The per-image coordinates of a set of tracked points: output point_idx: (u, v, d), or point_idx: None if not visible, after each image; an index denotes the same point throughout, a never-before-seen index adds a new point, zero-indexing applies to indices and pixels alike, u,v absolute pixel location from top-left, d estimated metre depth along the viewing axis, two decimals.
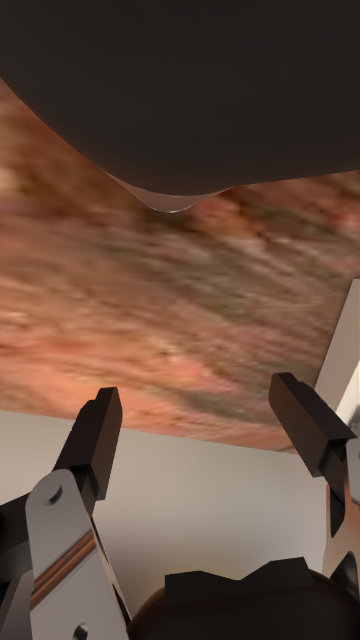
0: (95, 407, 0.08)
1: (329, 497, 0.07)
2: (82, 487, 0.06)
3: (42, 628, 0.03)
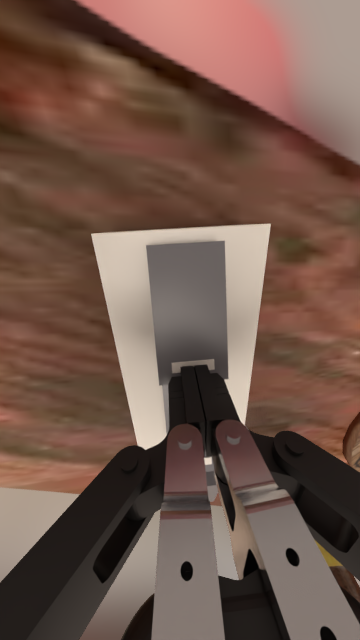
0: (185, 381, 0.10)
1: (219, 487, 0.07)
2: (202, 439, 0.07)
3: (165, 535, 0.04)
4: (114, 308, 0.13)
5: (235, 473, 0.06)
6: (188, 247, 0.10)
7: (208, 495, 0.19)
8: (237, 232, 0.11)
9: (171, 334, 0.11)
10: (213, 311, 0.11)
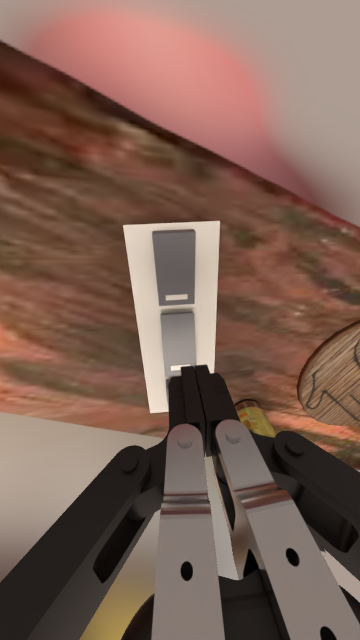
0: (185, 381, 0.10)
1: (219, 487, 0.07)
2: (202, 439, 0.07)
3: (165, 534, 0.04)
4: (133, 268, 0.22)
5: (235, 473, 0.06)
6: (175, 235, 0.18)
7: None
8: (201, 225, 0.21)
9: (165, 281, 0.21)
10: (188, 270, 0.20)
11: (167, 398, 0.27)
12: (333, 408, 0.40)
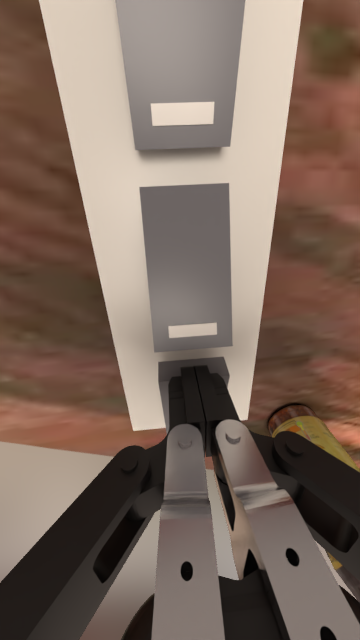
0: (185, 381, 0.10)
1: (219, 487, 0.07)
2: (202, 439, 0.07)
3: (165, 535, 0.04)
4: (57, 35, 0.08)
5: (235, 473, 0.06)
6: None
7: None
8: None
9: (148, 29, 0.06)
10: None
11: (162, 404, 0.12)
12: None
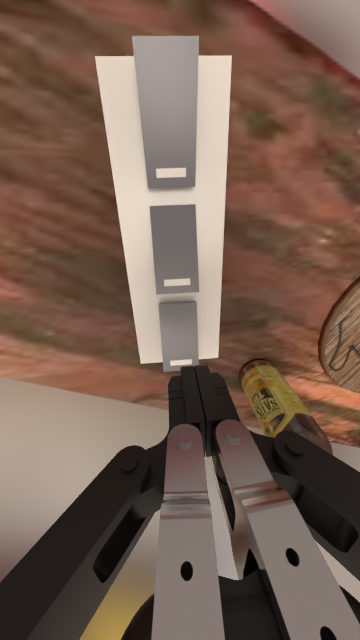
0: (185, 381, 0.10)
1: (219, 487, 0.07)
2: (201, 439, 0.07)
3: (165, 534, 0.04)
4: (112, 135, 0.16)
5: (235, 473, 0.06)
6: (167, 42, 0.12)
7: (190, 339, 0.22)
8: (206, 63, 0.15)
9: (155, 141, 0.15)
10: (186, 120, 0.14)
11: (160, 327, 0.21)
12: None
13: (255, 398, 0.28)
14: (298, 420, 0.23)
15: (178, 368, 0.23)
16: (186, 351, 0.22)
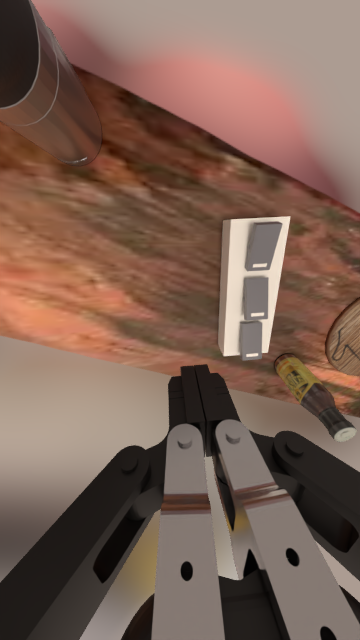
0: (185, 381, 0.10)
1: (219, 487, 0.07)
2: (201, 439, 0.07)
3: (165, 535, 0.04)
4: (231, 247, 0.34)
5: (235, 473, 0.06)
6: (270, 225, 0.30)
7: (258, 342, 0.40)
8: (278, 219, 0.33)
9: (256, 254, 0.33)
10: (271, 247, 0.33)
11: (242, 335, 0.40)
12: (352, 360, 0.52)
13: (288, 376, 0.46)
14: (315, 386, 0.41)
15: (250, 358, 0.41)
16: (255, 348, 0.40)
